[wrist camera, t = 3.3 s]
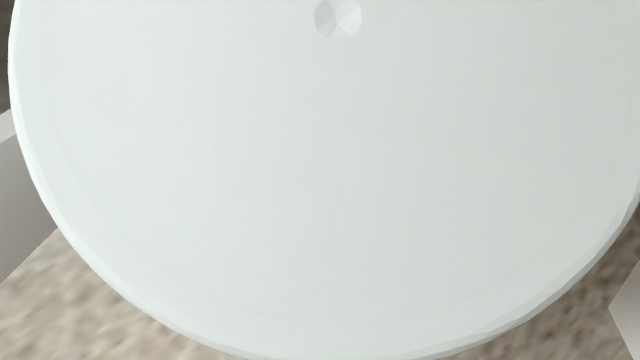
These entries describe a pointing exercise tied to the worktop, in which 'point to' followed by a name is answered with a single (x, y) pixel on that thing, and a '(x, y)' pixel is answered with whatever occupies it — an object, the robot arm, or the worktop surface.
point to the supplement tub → (333, 161)
